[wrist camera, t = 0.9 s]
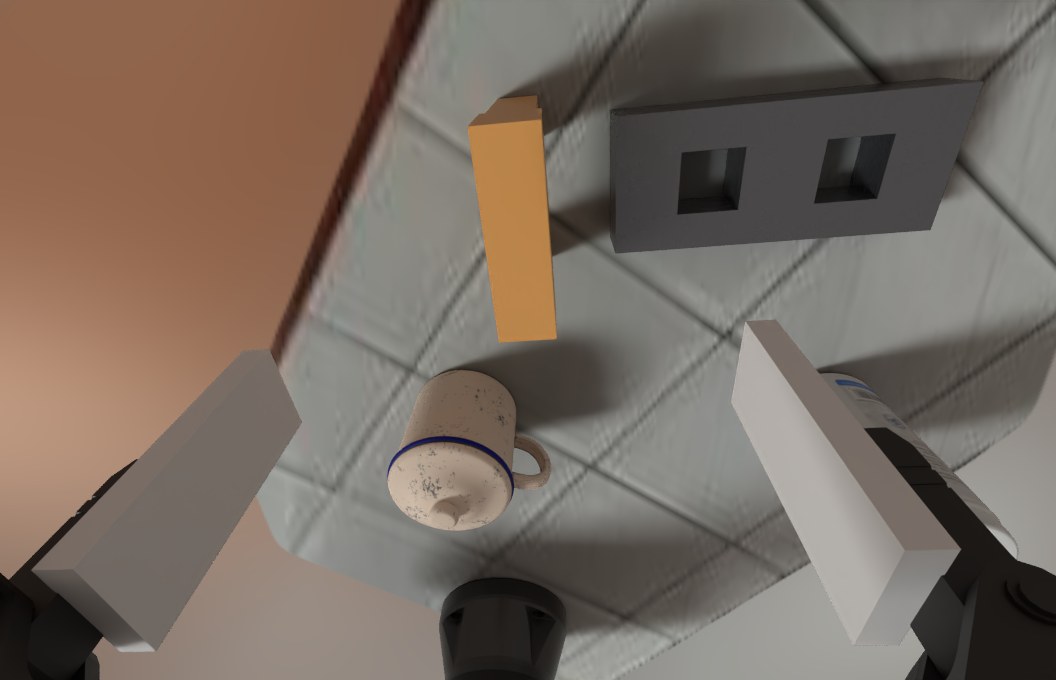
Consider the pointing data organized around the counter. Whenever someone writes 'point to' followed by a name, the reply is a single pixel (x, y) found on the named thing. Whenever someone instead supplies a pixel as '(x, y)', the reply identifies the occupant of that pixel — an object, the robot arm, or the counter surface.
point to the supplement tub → (878, 414)
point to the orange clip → (515, 217)
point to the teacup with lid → (461, 453)
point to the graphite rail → (787, 164)
